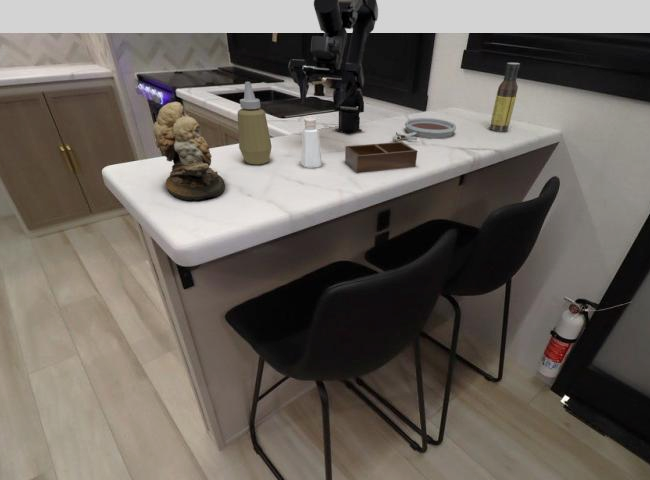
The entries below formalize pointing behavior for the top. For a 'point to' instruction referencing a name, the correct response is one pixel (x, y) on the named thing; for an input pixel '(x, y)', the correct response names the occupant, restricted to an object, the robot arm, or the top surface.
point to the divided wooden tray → (380, 156)
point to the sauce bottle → (505, 99)
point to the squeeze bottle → (253, 129)
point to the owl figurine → (186, 155)
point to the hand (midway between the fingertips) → (319, 104)
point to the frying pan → (427, 129)
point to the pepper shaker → (310, 145)
